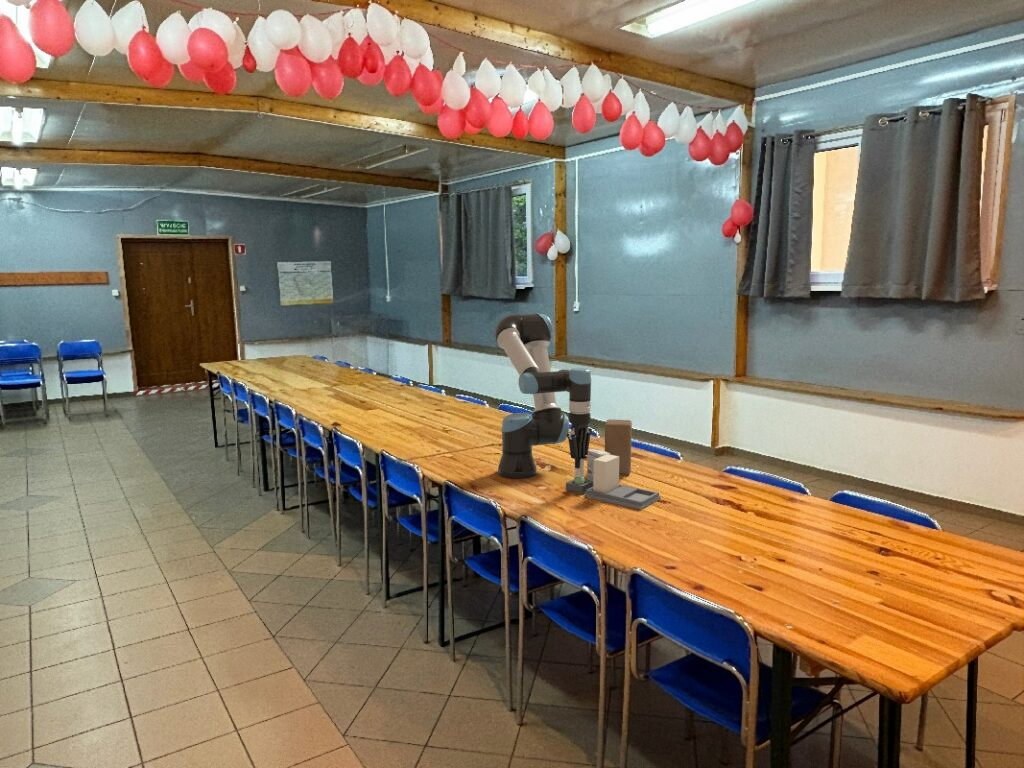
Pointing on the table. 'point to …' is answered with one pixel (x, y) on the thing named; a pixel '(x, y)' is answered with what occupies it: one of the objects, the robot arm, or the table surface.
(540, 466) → the table surface
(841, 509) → the table surface
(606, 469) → the billet
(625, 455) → the block
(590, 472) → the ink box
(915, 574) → the table surface
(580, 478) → the button
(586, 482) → the dark grey square tray
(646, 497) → the pallet
